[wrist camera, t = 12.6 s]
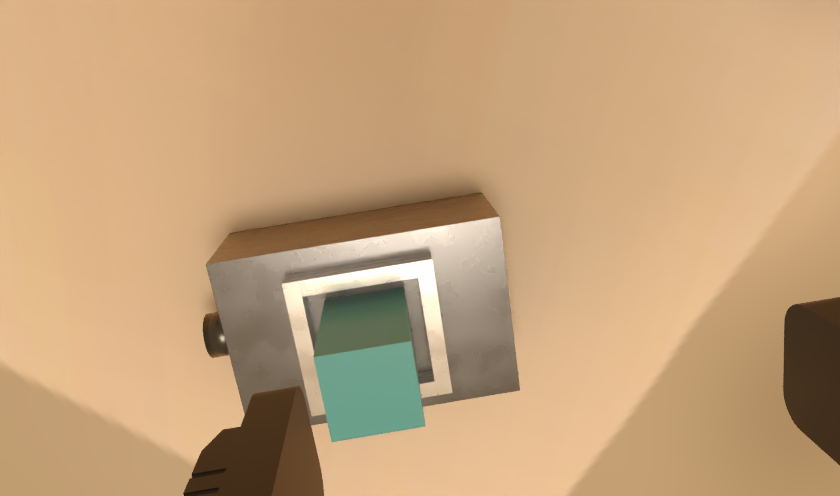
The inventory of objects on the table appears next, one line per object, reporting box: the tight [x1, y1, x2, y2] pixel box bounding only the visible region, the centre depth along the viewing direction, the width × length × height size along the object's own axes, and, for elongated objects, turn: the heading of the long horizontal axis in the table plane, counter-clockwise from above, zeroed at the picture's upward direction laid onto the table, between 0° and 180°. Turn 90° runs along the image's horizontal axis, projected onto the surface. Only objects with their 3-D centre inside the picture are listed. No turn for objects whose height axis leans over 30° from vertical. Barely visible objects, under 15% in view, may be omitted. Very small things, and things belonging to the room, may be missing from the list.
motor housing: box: [203, 193, 520, 425], centre depth 44 cm, size 20×12×8 cm, turn 99°
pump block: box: [313, 287, 425, 442], centre depth 38 cm, size 5×5×8 cm
